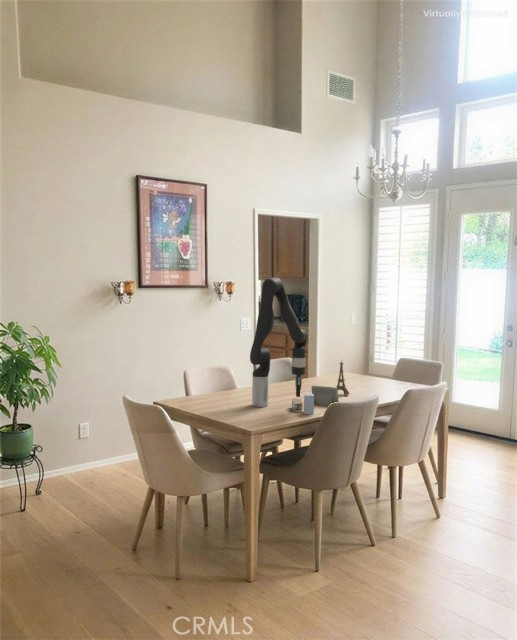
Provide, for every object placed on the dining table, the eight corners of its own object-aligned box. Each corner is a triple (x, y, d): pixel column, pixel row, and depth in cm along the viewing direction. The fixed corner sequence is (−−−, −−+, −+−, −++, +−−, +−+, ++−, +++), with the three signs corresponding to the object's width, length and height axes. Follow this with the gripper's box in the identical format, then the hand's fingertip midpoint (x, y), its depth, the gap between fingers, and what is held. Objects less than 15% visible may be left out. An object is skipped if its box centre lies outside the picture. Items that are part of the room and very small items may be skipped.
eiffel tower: (349, 393, 361) (350, 355, 359) (348, 396, 351) (349, 357, 349) (333, 392, 364) (334, 354, 362) (331, 395, 354) (332, 356, 352)
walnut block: (293, 411, 308) (292, 407, 318) (302, 411, 308) (300, 407, 318) (293, 402, 308) (292, 398, 318) (302, 402, 308) (301, 399, 318)
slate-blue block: (303, 411, 308) (304, 393, 308) (312, 411, 308) (313, 393, 308) (304, 413, 303) (305, 395, 303) (313, 413, 303) (314, 395, 303)
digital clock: (340, 404, 329) (340, 386, 328) (333, 407, 321) (333, 388, 321) (315, 400, 338) (316, 383, 337) (308, 403, 330) (309, 385, 330)
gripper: (291, 363, 313) (290, 394, 314) (292, 367, 299) (291, 398, 301) (304, 363, 313) (303, 394, 314) (306, 367, 299) (305, 399, 301)
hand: (298, 396), depth 307 cm, fingers closed
